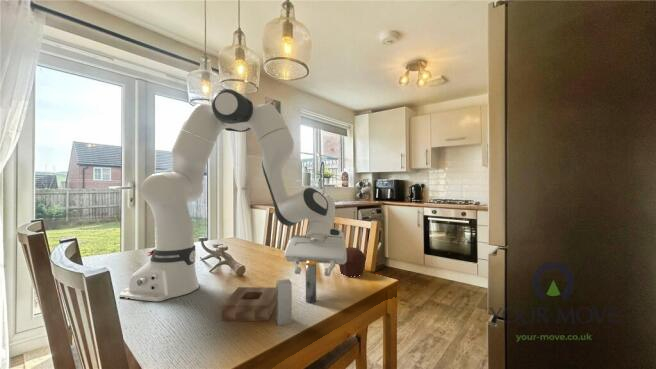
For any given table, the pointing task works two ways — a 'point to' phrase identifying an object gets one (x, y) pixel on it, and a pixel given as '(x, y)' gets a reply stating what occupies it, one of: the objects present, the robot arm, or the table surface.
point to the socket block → (250, 304)
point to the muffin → (353, 263)
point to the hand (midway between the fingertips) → (312, 274)
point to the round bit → (310, 281)
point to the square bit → (283, 302)
